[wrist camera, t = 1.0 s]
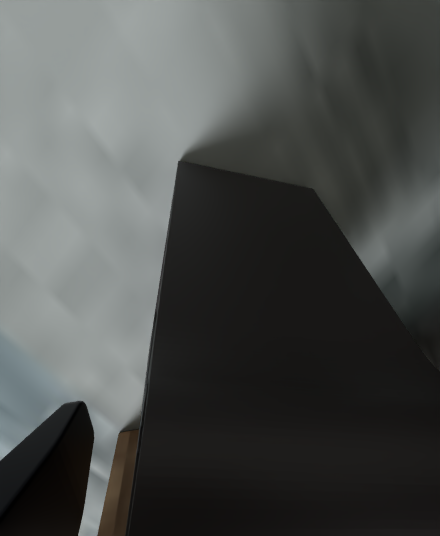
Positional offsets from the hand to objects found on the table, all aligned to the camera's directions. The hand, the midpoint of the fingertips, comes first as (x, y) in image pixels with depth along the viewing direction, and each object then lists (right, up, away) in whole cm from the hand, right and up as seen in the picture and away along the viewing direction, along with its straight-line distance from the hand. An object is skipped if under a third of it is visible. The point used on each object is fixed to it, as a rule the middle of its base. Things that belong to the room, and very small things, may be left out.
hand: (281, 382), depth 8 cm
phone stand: (-1, +3, +8) cm, 8 cm away
